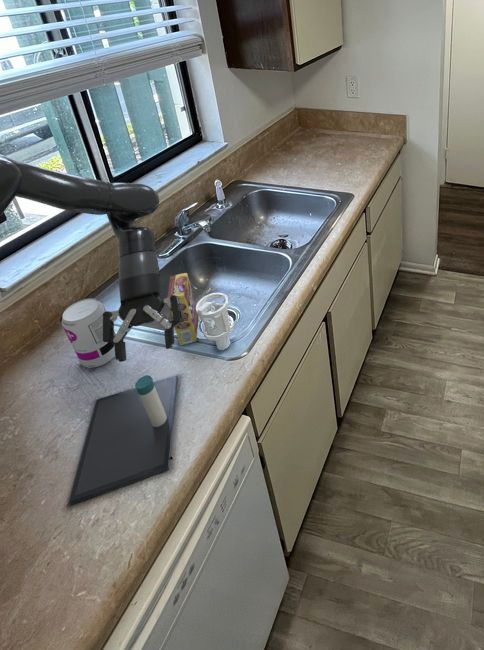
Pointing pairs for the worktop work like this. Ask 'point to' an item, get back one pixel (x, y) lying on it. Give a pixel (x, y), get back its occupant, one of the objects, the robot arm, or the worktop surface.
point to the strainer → (216, 320)
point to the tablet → (124, 442)
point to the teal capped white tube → (151, 400)
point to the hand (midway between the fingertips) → (146, 354)
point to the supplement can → (88, 332)
